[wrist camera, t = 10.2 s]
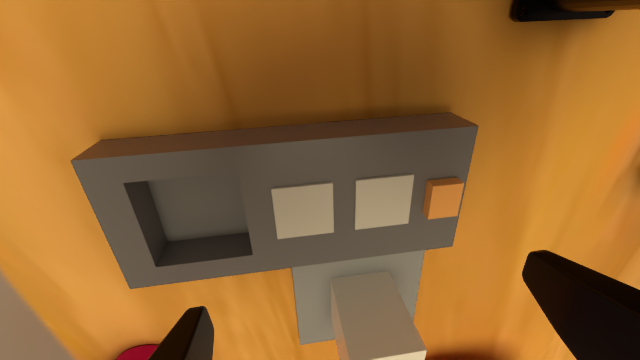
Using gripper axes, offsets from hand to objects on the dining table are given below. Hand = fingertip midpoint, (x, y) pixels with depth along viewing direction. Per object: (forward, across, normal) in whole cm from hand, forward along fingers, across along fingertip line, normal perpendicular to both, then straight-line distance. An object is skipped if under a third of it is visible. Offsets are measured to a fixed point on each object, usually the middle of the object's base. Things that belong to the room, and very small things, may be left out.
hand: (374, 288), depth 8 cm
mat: (+13, -2, +15) cm, 20 cm away
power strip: (+13, +2, +4) cm, 14 cm away
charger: (+12, -2, +15) cm, 19 cm away
